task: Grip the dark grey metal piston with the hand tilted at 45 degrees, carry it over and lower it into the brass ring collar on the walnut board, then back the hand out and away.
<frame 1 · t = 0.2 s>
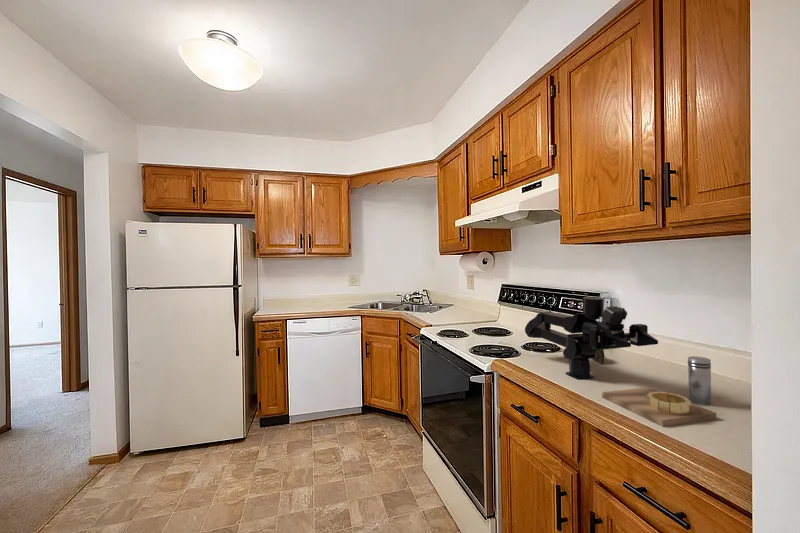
hand: (644, 343, 98), 17 cm above the worktop, fingers open, 9 cm apart
walnut board: (654, 407, 95), on the worktop
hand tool: (592, 357, 147), on the worktop
piston: (699, 401, 98), on the worktop
brass ring collar: (668, 407, 92), resting on walnut board
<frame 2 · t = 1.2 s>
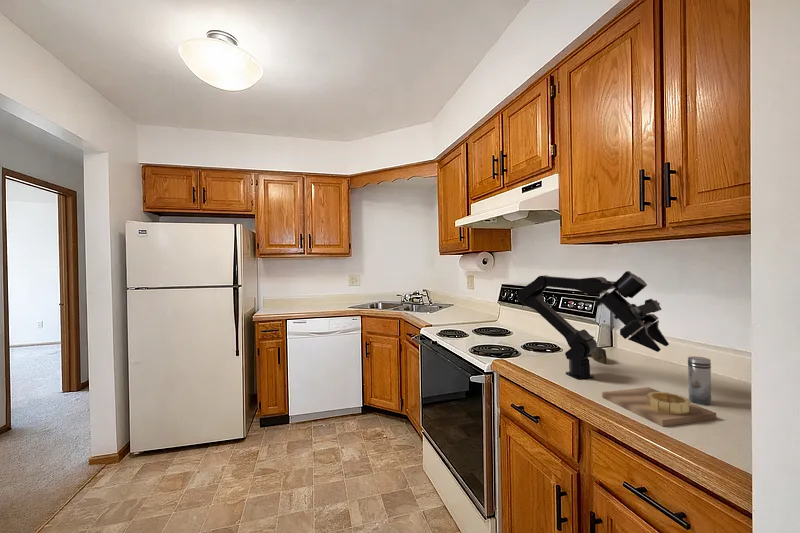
hand: (663, 348, 104), 14 cm above the worktop, fingers open, 9 cm apart
nothing on the worktop moved.
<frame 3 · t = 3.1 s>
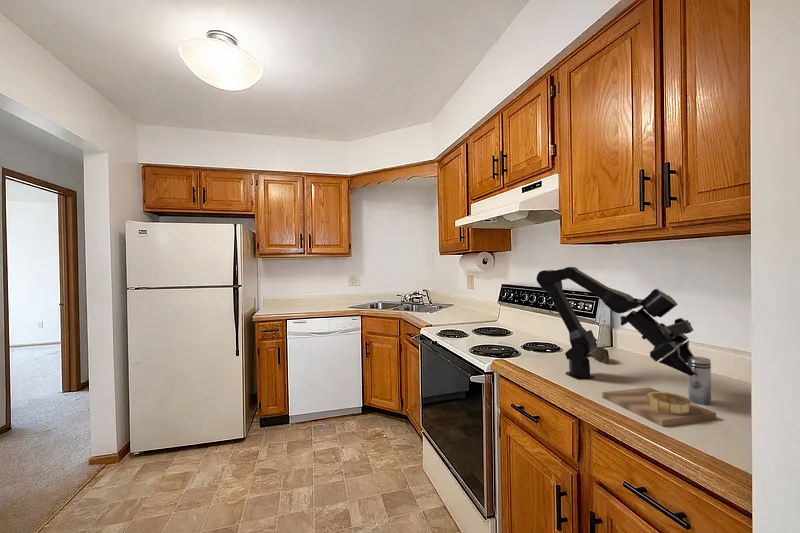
hand: (696, 371, 99), 8 cm above the worktop, fingers open, 9 cm apart
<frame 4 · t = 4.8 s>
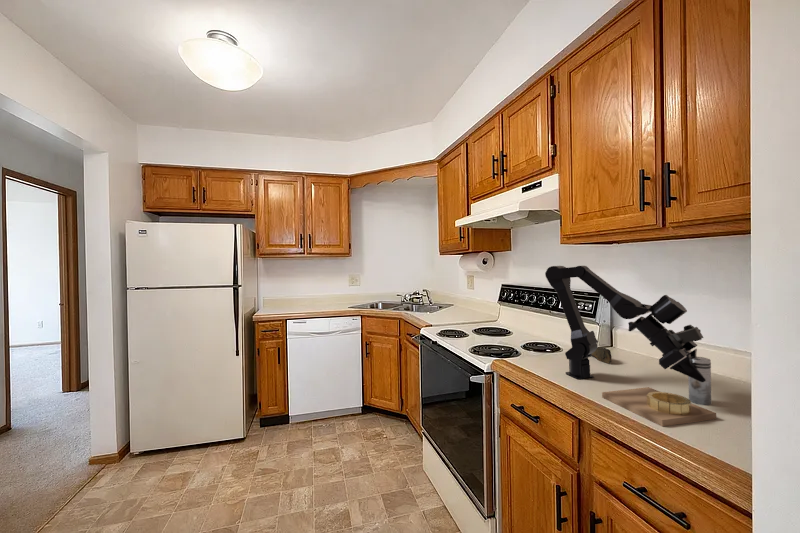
hand: (706, 379, 97), 7 cm above the worktop, fingers closed on piston, 5 cm apart
piston: (699, 401, 98), on the worktop, touching gripper
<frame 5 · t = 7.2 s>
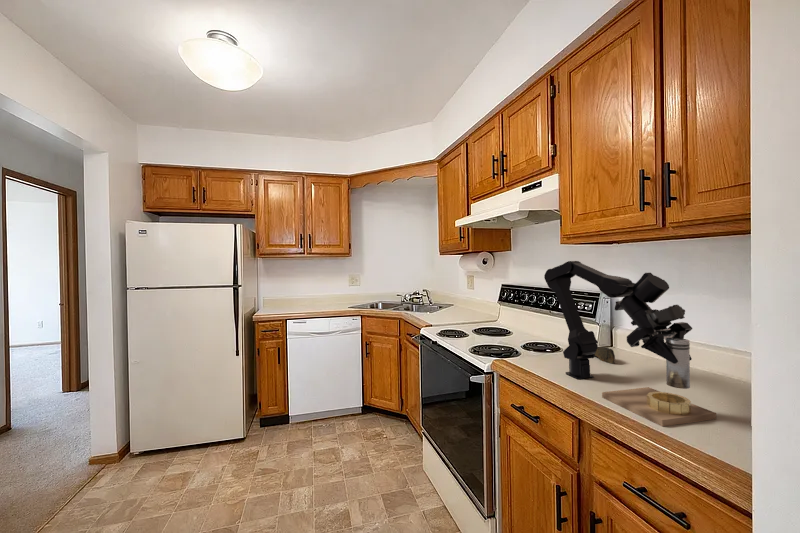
hand: (683, 361, 91), 13 cm above the worktop, fingers closed on piston, 5 cm apart
piston: (678, 385, 92), point 7 cm above the worktop, touching gripper
when the fingers open (9 cm above the worktop, at t = 9.6 s): piston drops 1 cm, resting on walnut board.
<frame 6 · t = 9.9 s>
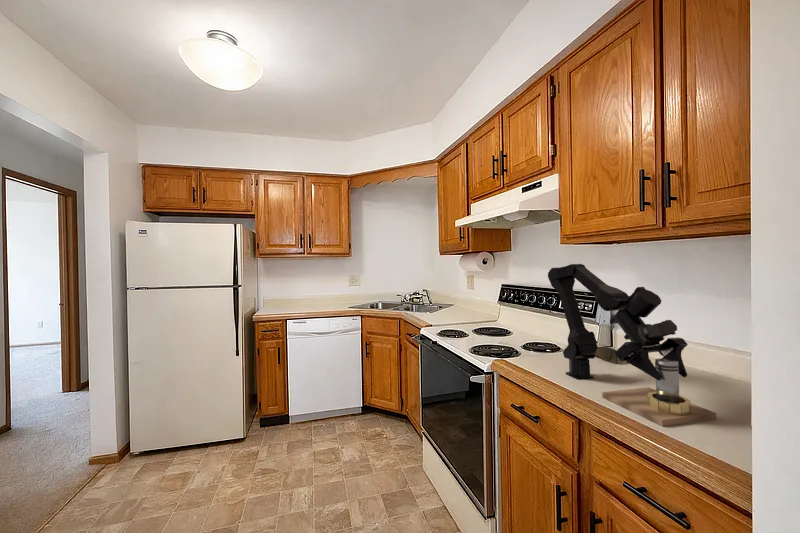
hand: (673, 378, 90), 10 cm above the worktop, fingers open, 8 cm apart
piston: (668, 407, 92), point 2 cm above the worktop, touching walnut board
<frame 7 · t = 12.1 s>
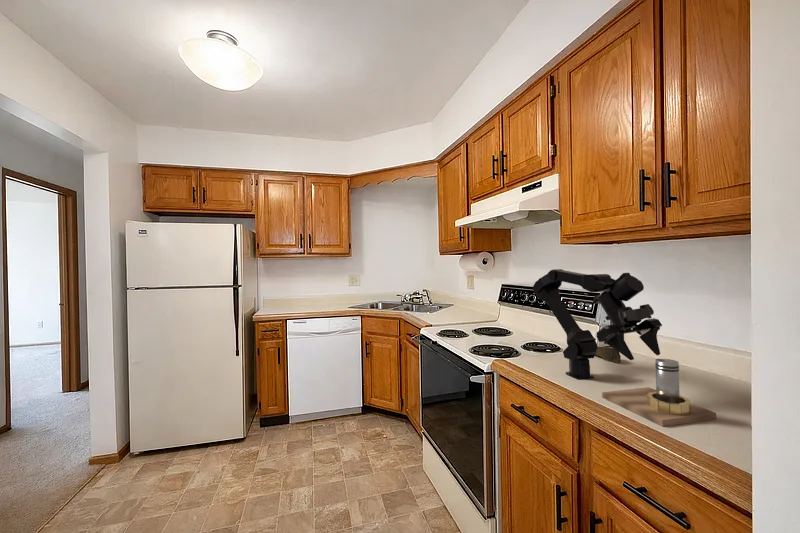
hand: (645, 357, 100), 12 cm above the worktop, fingers open, 9 cm apart
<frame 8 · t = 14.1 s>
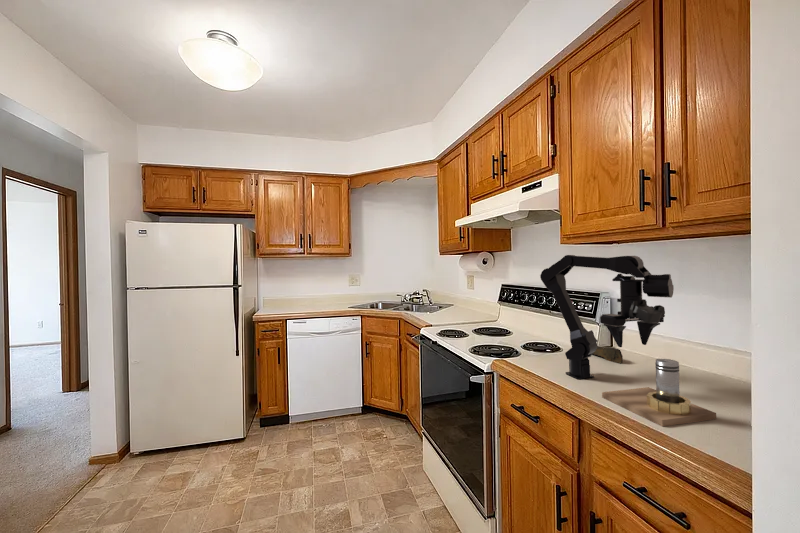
hand: (632, 345, 110), 13 cm above the worktop, fingers open, 9 cm apart
at the end: piston 0.1 cm off-centre on the brass ring collar, point 0.0 cm above the brass ring collar's base; piston tilted 1°; the gripper is holding nothing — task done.
